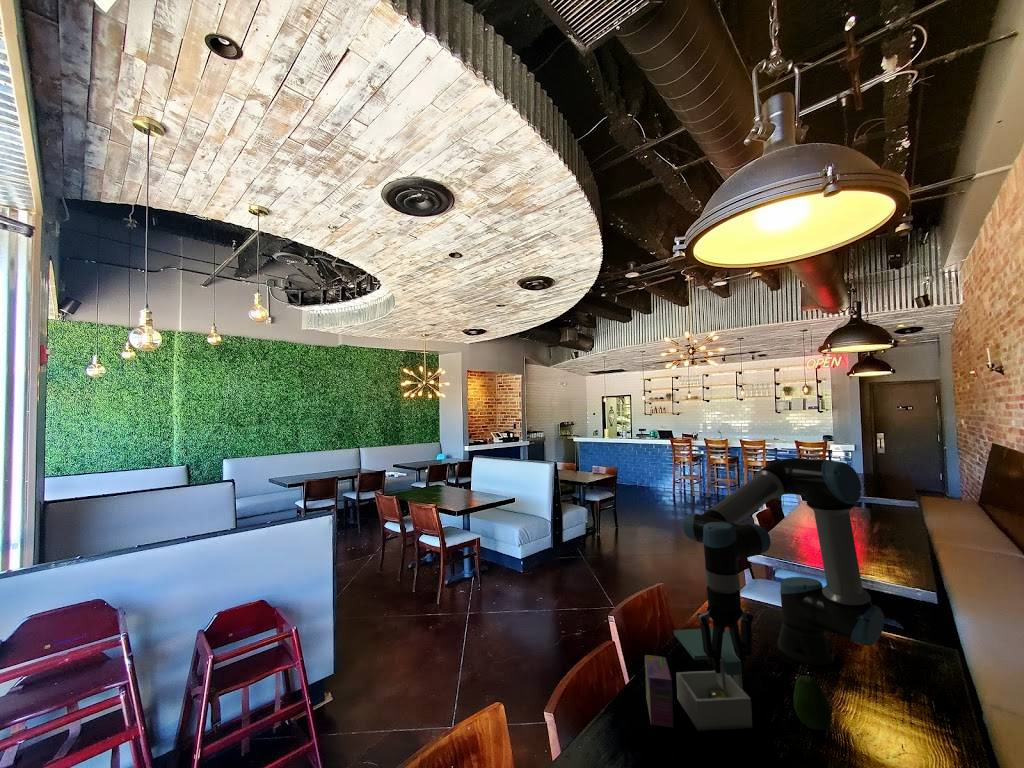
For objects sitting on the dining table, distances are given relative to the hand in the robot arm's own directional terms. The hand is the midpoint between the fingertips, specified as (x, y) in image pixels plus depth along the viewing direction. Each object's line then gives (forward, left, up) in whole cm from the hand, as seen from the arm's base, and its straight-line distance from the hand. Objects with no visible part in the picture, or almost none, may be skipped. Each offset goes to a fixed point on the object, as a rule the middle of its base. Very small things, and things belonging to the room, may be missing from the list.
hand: (729, 684), depth 104 cm
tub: (0, -9, -12) cm, 15 cm away
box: (+14, -10, -12) cm, 21 cm away
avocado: (-22, -2, -12) cm, 25 cm away
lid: (0, -6, +4) cm, 7 cm away
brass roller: (-3, -10, -12) cm, 16 cm away
